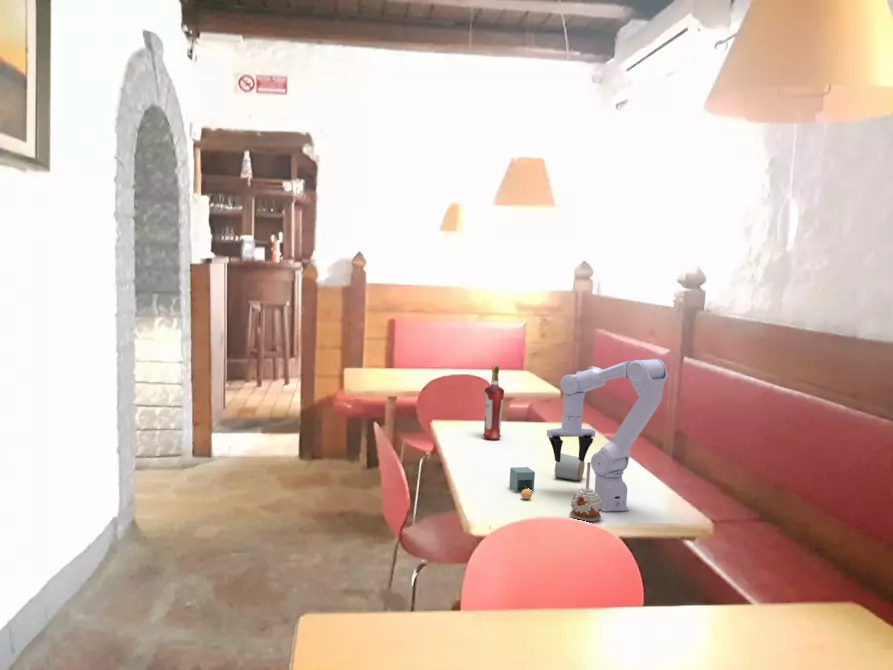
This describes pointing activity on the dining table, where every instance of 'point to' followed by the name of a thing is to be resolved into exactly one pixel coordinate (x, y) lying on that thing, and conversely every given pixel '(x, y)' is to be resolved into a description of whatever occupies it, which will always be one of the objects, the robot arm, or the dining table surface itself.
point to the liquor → (493, 407)
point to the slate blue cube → (521, 478)
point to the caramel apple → (586, 502)
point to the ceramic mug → (569, 467)
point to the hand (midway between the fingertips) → (569, 460)
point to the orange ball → (526, 494)
